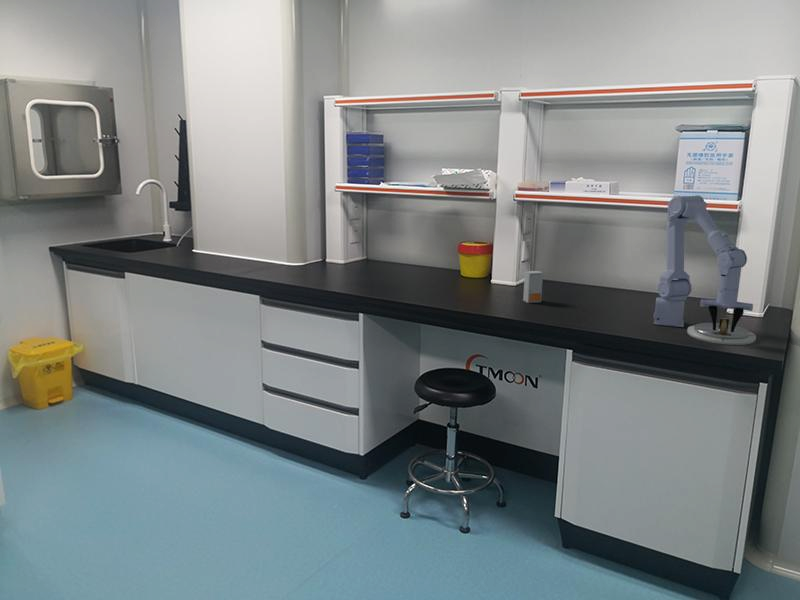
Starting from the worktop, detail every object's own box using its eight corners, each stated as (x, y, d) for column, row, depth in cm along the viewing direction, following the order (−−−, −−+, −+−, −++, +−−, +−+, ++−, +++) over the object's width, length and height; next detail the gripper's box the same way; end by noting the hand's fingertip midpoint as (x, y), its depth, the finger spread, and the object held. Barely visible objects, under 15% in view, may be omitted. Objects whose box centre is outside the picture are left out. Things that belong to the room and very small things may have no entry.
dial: (693, 323, 219) (695, 306, 218) (746, 328, 213) (748, 311, 212) (694, 335, 205) (696, 317, 203) (751, 341, 199) (754, 322, 197)
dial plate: (687, 340, 204) (688, 336, 204) (686, 325, 222) (687, 321, 222) (759, 348, 196) (759, 344, 196) (752, 331, 214) (752, 327, 214)
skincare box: (527, 303, 253) (529, 273, 250) (522, 300, 257) (524, 271, 254) (541, 302, 254) (543, 272, 251) (536, 299, 258) (538, 270, 255)
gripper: (703, 288, 199) (698, 331, 202) (756, 293, 193) (750, 336, 197) (702, 284, 205) (697, 325, 208) (753, 288, 200) (748, 330, 203)
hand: (723, 330), depth 203 cm, fingers open, 4 cm apart
